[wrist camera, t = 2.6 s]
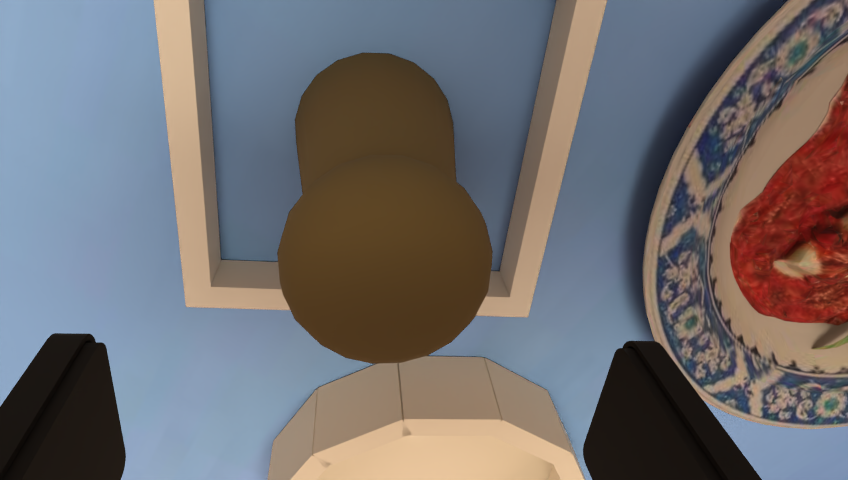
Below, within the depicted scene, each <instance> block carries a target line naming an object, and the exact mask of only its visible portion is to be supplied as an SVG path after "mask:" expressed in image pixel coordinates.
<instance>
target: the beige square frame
mask: <svg viewBox="0 0 848 480" xmlns="http://www.w3.org/2000/svg"><path fill="white" fill-rule="evenodd" d="M606 3H607V0H556V5H555V10H554V14H553V19H552V24H551V29H550V33H549V38H548V43H547V48H546V52H545V57H544V62H543V67H542V71H541V76H540V81H539V86H538V90H537V95H536V100H535V105H534V110H533V114H532V119H531V124H530V129H529V133H528V138H527V143H526V148H525V152H524V157H523V162H522V167H521V171H520V176H519V181H518V186H517V190H516V195H515V200H514V205H513V209H512V214H511V219H510V224H509V228H508V233H507V238H506V243H505V247H504V252H503V257H502V262H501V266H500V271H491V274H490V282H489V289H488V293H487V295H486V297H485V299H484V301H483V302H482V304H481V306H480V308H479V310H478V312H477V314H476V316H502V317H528V315H529V311H530V307H531V303H532V299H533V295H534V291H535V287H536V283H537V279H538V275H539V271H540V267H541V263H542V259H543V255H544V251H545V247H546V243H547V239H548V235H549V231H550V227H551V223H552V219H553V215H554V211H555V207H556V203H557V199H558V195H559V191H560V187H561V183H562V179H563V175H564V171H565V167H566V163H567V159H568V155H569V151H570V147H571V143H572V139H573V135H574V131H575V127H576V123H577V119H578V115H579V111H580V107H581V103H582V99H583V95H584V91H585V87H586V83H587V79H588V75H589V71H590V67H591V63H592V59H593V55H594V51H595V47H596V43H597V39H598V35H599V31H600V27H601V23H602V19H603V15H604V11H605V7H606ZM154 7H155V16H156V26H157V35H158V45H159V54H160V64H161V73H162V83H163V92H164V102H165V112H166V121H167V131H168V140H169V150H170V159H171V169H172V178H173V188H174V197H175V207H176V216H177V226H178V235H179V245H180V255H181V264H182V274H183V283H184V293H185V302H186V307H204V308H237V309H270V310H290V308H289V306H288V304H287V302H286V300H285V298H284V296H283V293H282V289H281V285H280V279H279V267H278V262H263V261H239V260H221V253H220V237H219V222H218V207H217V192H216V176H215V161H214V146H213V131H212V115H211V100H210V85H209V70H208V55H207V39H206V24H205V9H204V0H154Z"/></svg>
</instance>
